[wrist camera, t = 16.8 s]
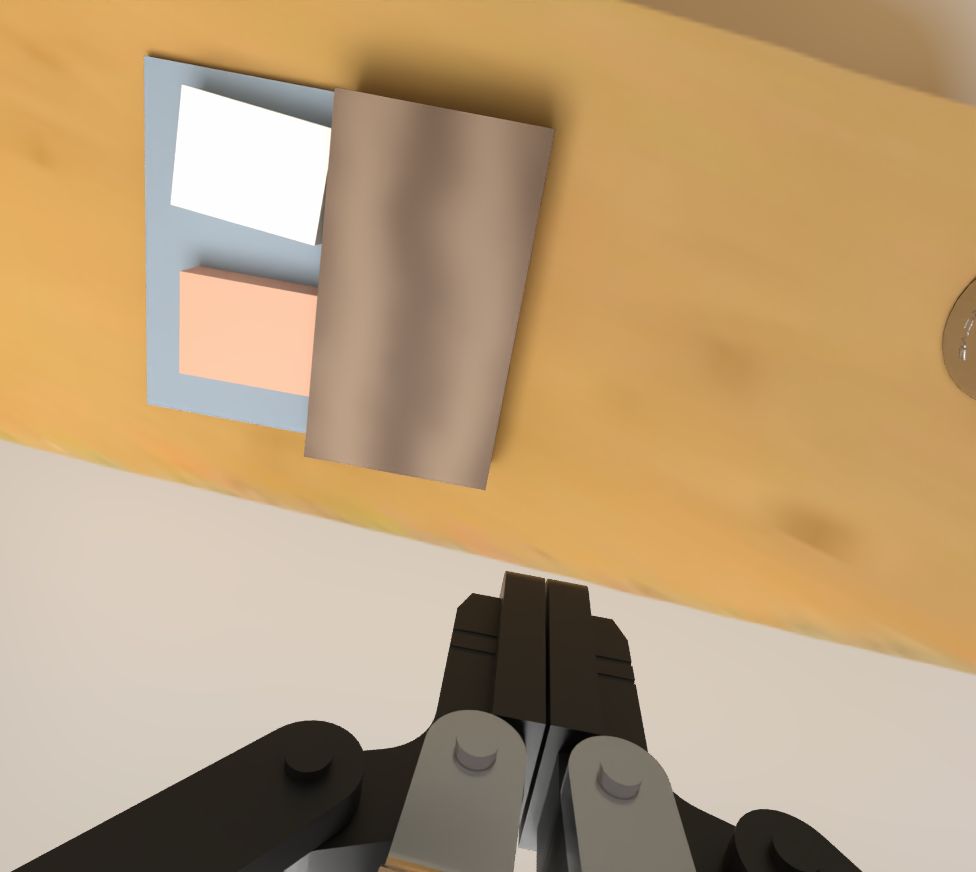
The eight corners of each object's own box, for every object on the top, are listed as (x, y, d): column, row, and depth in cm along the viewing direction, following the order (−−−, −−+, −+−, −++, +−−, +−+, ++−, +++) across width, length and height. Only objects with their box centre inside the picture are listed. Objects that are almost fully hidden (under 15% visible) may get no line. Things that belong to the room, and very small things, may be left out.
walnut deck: (552, 133, 37) (555, 129, 33) (489, 463, 44) (485, 490, 41) (354, 96, 37) (334, 87, 33) (323, 432, 44) (303, 456, 40)
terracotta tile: (332, 290, 40) (320, 296, 38) (324, 385, 42) (312, 397, 40) (199, 265, 40) (179, 271, 38) (197, 362, 42) (179, 372, 40)
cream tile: (346, 132, 37) (334, 129, 35) (326, 241, 39) (314, 245, 37) (202, 90, 37) (181, 84, 35) (191, 202, 39) (170, 204, 37)
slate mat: (349, 95, 37) (346, 94, 36) (318, 432, 44) (315, 435, 44) (149, 57, 37) (144, 55, 36) (152, 401, 44) (147, 404, 44)
